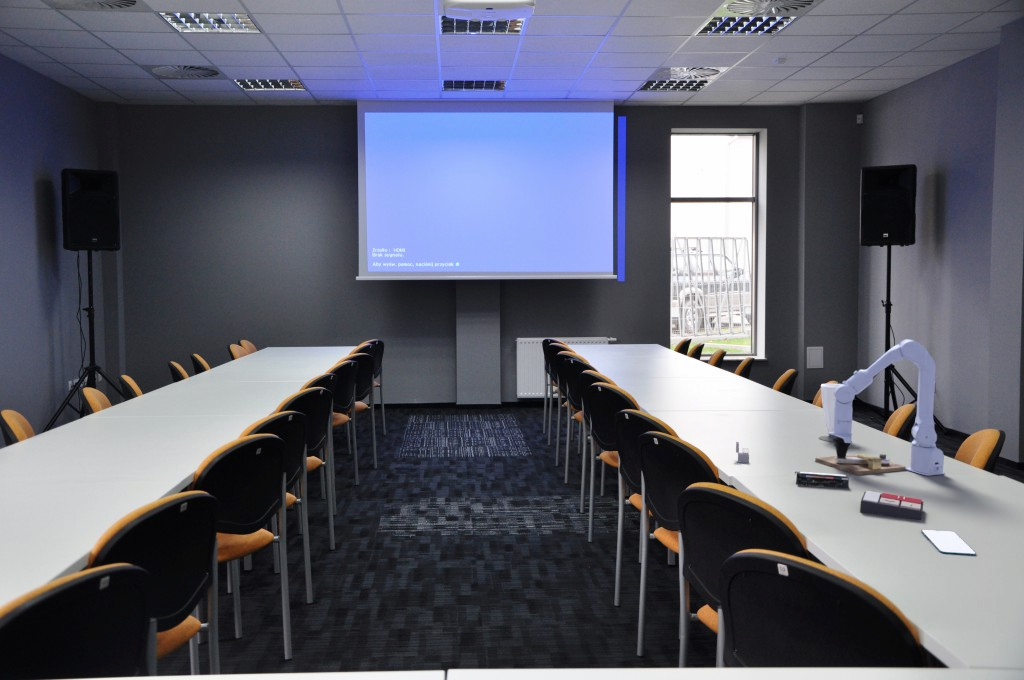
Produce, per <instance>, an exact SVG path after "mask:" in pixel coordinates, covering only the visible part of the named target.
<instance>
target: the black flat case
mask: <svg viewBox="0 0 1024 680" xmlns="http://www.w3.org/2000/svg"><path fill="white" fill-rule="evenodd" d="M794 475H796V479H795V485H797V486H809V487H812V486H813V487H822V488H835V489H836V488H837V489H849V488H850V487H849V486H850V484H849V481H850V480H849V479H850V477H849V476H848V474H841V473H827V472H812V471H811V472H810V471H795V472H794Z"/></svg>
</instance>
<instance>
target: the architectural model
mask: <svg viewBox="0 0 1024 680" xmlns="http://www.w3.org/2000/svg"><path fill="white" fill-rule="evenodd" d="M735 445H736V446H735V453H737V462H738V463H746V464H749V463H750V454H749V453H750V452H749V451H750V449H747V450H746V448H745V447H742V450H744V452H740V442H739V441H736V442H735Z"/></svg>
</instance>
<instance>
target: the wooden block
mask: <svg viewBox="0 0 1024 680" xmlns="http://www.w3.org/2000/svg"><path fill="white" fill-rule="evenodd" d="M859 454H860V455H857V458H860V459H863V460H867V461H868V468H869V469H881V458H879V457H878V456H874V455H870V454H867V453H859Z"/></svg>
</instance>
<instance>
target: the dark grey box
mask: <svg viewBox="0 0 1024 680" xmlns="http://www.w3.org/2000/svg"><path fill="white" fill-rule="evenodd" d="M923 510H924V501H922V499H921V498H915V497H909V496H904V495H903V496H902V495H898V494H891V493H886V492H882V493H881V492H876V491H871V490H870V491H869V490H866V491H864V492H863V495H862V497H861V500H860V508H859V513H863V514H869V515H875V516H878V515H879V516H885V517H890V518H891V517H892V518H899V519H905V520H912V521H918V522H919V521H922V518H923Z"/></svg>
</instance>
